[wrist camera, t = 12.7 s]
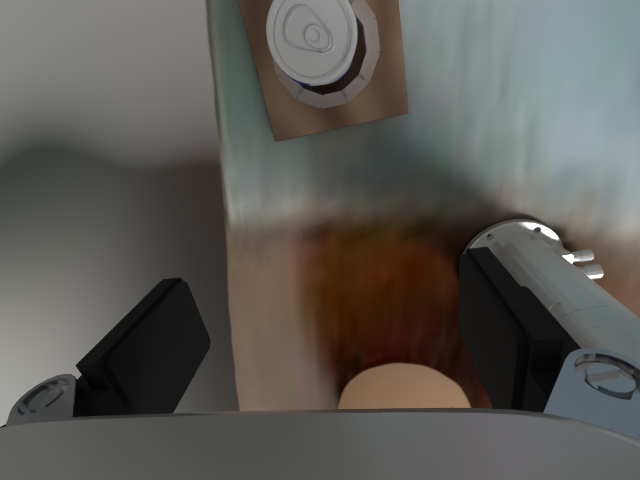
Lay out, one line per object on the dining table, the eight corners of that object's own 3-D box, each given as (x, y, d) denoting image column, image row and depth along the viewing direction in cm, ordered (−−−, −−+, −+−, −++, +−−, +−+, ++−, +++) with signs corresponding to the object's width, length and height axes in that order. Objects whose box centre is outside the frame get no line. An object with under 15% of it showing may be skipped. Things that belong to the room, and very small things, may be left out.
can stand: (390, -60, 29) (397, -83, 25) (405, 111, 35) (413, 115, 31) (238, -14, 31) (222, -28, 27) (278, 139, 38) (270, 146, 34)
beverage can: (293, 26, 31) (254, -15, 18) (349, 15, 31) (352, -37, 17) (303, 88, 34) (275, 92, 20) (355, 79, 33) (362, 77, 20)
